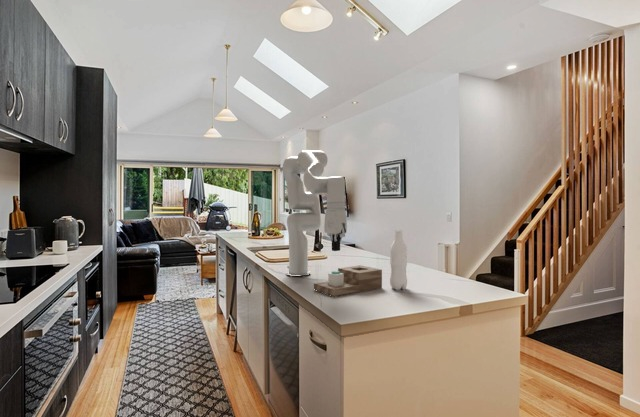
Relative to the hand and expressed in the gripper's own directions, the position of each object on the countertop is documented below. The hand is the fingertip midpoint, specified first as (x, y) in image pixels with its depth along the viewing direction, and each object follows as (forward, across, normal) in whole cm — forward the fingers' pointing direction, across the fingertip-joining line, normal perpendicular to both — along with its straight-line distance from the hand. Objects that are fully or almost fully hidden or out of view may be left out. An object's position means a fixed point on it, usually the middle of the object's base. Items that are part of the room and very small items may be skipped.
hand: (336, 250), depth 161 cm
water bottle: (+17, +12, +24) cm, 32 cm away
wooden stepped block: (+17, 0, +6) cm, 18 cm away
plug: (+17, 0, 0) cm, 17 cm away
